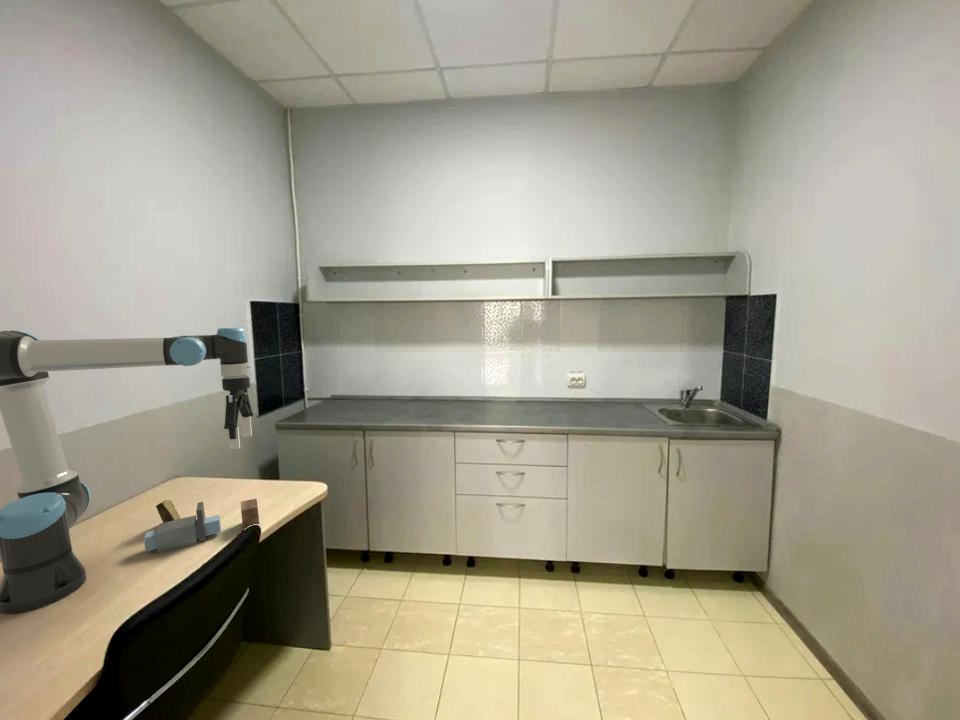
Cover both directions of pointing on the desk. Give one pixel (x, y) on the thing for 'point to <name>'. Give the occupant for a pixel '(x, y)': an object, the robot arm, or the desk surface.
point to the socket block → (249, 513)
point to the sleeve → (176, 534)
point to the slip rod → (201, 526)
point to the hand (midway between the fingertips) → (241, 442)
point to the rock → (167, 511)
